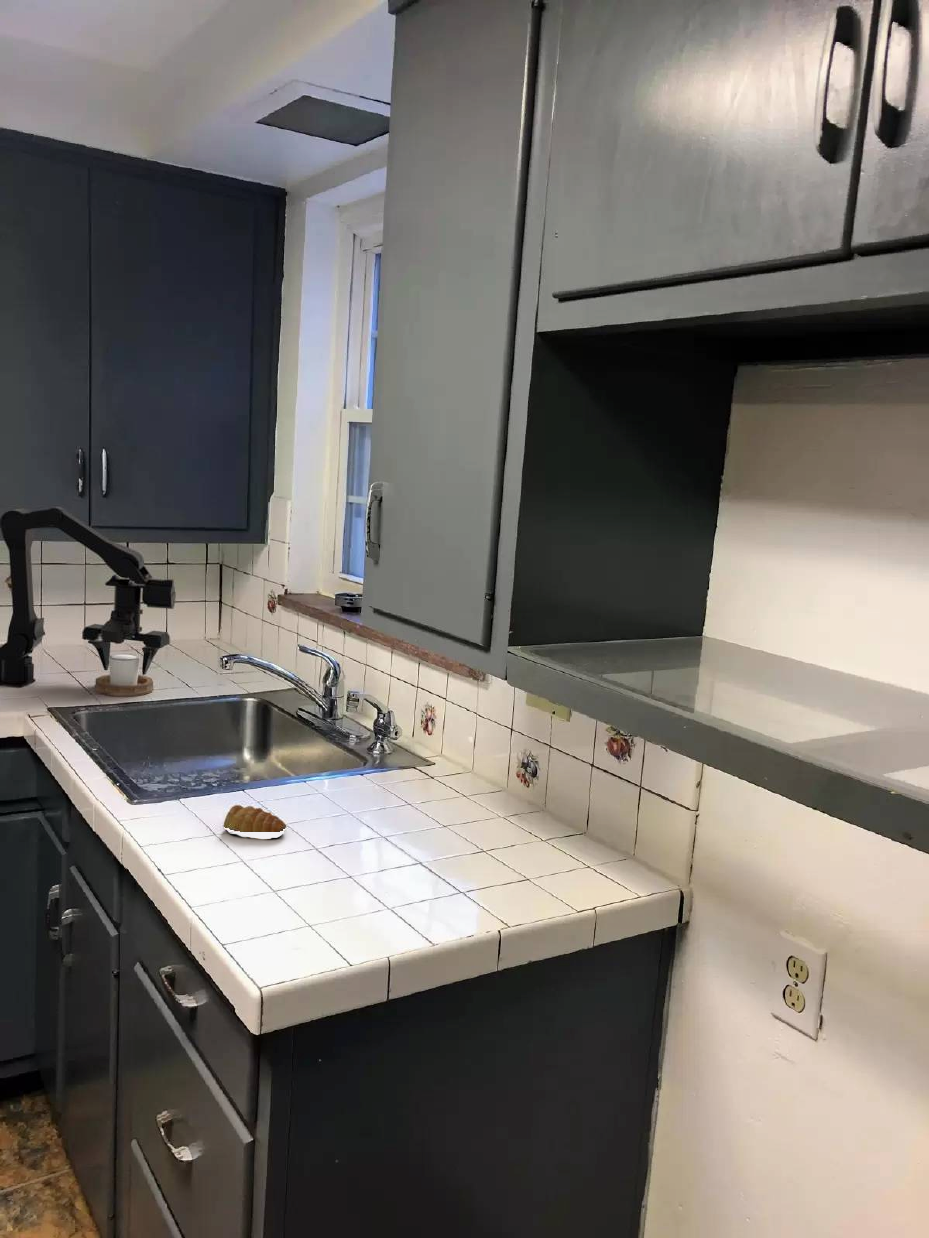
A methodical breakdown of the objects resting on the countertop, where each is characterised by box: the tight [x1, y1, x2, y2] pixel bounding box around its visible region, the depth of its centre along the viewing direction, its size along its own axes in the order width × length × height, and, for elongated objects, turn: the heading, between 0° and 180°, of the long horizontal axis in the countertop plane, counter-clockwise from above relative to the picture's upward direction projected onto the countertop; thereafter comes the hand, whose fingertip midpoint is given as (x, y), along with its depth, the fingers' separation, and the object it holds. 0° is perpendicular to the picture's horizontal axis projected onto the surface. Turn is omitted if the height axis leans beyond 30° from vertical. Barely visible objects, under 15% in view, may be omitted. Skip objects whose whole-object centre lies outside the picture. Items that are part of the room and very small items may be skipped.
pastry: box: [222, 804, 287, 832], centre depth 153 cm, size 9×7×4 cm
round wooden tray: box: [93, 674, 155, 698], centre depth 227 cm, size 13×13×2 cm
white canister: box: [108, 653, 141, 686], centre depth 226 cm, size 7×7×7 cm
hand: (125, 672), depth 227 cm, fingers open, 9 cm apart
